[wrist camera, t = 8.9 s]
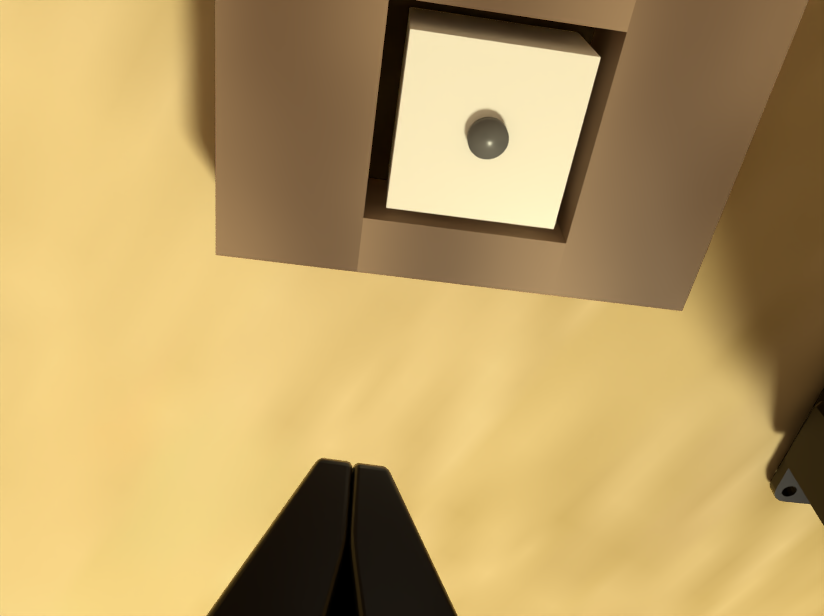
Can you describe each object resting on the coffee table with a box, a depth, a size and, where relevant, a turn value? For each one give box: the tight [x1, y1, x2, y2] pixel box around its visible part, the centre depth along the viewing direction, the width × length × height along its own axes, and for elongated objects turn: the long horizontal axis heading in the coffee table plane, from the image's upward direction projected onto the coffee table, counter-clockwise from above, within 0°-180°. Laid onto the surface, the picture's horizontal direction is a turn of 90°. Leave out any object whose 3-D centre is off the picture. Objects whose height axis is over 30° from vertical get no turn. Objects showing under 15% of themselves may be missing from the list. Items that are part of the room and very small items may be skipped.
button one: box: [386, 7, 601, 229], centre depth 17 cm, size 4×4×3 cm
